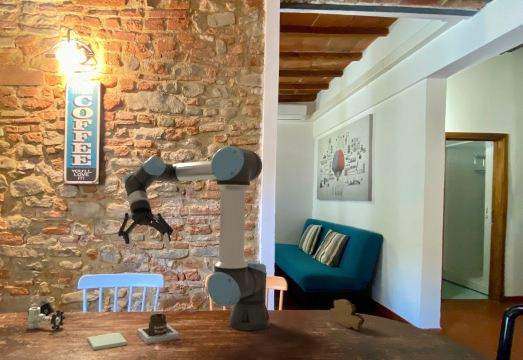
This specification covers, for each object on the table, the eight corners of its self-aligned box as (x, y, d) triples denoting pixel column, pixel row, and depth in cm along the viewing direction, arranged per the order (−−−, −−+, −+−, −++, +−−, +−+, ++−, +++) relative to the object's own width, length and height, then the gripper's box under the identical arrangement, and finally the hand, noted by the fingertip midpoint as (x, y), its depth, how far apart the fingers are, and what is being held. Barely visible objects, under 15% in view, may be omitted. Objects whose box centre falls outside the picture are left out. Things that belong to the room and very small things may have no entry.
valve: (21, 329, 147) (52, 332, 145) (22, 310, 147) (53, 313, 145) (35, 323, 154) (64, 326, 151) (36, 305, 154) (65, 308, 152)
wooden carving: (368, 332, 153) (368, 304, 154) (359, 334, 151) (359, 305, 151) (335, 320, 167) (336, 294, 167) (327, 322, 164) (327, 295, 165)
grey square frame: (167, 329, 151) (167, 324, 151) (178, 338, 141) (179, 333, 141) (137, 334, 145) (137, 328, 145) (146, 344, 136) (146, 338, 136)
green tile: (119, 335, 143) (119, 332, 143) (126, 344, 135) (126, 341, 135) (87, 340, 138) (87, 336, 138) (93, 350, 130) (93, 346, 130)
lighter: (31, 325, 160) (24, 312, 160) (34, 323, 162) (27, 310, 162) (52, 312, 160) (44, 299, 160) (54, 311, 162) (47, 298, 162)
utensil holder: (144, 336, 143) (145, 300, 143) (160, 332, 147) (161, 297, 148) (154, 340, 139) (155, 303, 139) (170, 336, 143) (171, 300, 144)
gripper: (167, 211, 174) (180, 254, 161) (104, 211, 160) (112, 257, 148) (173, 199, 170) (186, 242, 157) (108, 198, 156) (117, 244, 143)
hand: (150, 249), depth 152 cm, fingers open, 13 cm apart
